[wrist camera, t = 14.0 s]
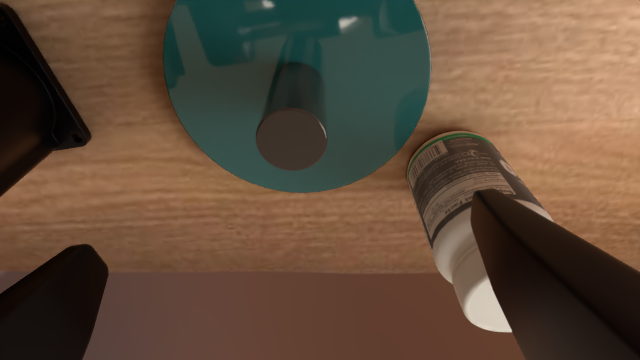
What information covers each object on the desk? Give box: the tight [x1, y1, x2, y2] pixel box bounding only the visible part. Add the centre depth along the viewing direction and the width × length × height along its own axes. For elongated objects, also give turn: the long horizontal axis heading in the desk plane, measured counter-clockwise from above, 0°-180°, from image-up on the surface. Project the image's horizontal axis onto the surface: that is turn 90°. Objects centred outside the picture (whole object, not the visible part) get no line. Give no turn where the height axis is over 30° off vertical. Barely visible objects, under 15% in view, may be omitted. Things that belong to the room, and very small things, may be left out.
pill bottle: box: [407, 131, 553, 332], centre depth 16 cm, size 5×5×8 cm
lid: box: [163, 0, 431, 193], centre depth 14 cm, size 11×11×6 cm
